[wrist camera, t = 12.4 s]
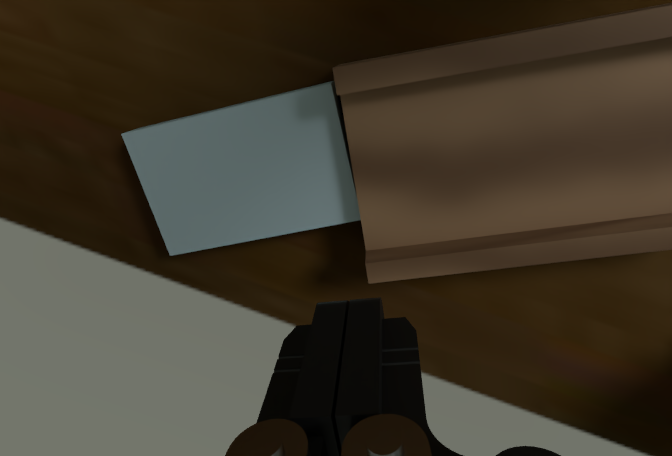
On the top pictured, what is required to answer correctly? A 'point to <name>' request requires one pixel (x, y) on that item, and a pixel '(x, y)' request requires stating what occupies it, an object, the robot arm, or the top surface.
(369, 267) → the box
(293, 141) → the lid
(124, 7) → the top surface
